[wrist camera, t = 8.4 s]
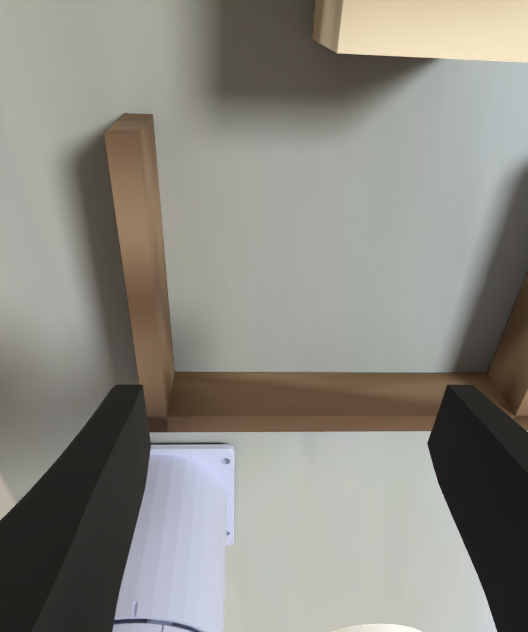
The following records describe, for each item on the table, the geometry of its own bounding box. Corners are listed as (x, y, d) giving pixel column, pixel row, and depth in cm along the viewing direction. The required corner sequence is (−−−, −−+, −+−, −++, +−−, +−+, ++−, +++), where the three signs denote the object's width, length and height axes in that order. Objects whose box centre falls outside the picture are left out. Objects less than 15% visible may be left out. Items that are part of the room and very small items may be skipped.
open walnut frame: (500, 387, 25) (528, 430, 23) (155, 387, 24) (146, 432, 22) (609, 129, 18) (669, 151, 15) (124, 113, 17) (104, 133, 14)
